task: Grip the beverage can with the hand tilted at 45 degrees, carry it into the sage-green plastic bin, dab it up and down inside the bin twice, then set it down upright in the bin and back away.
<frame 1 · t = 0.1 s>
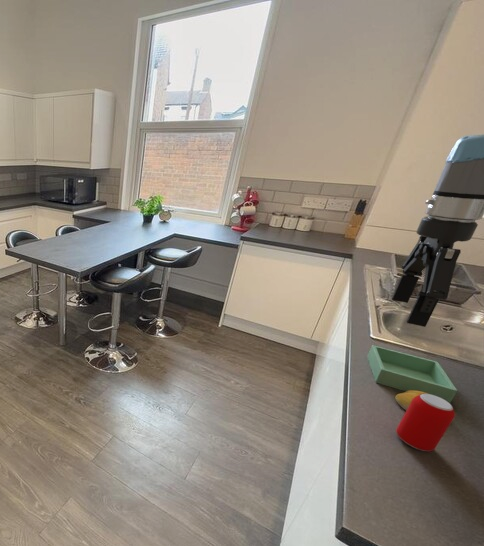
hand: (406, 311, 70), 28 cm above the worktop, tool pointing down, fingers open, 13 cm apart
bread roll: (417, 408, 80), on the worktop
beverage can: (412, 442, 70), on the worktop
bin: (403, 378, 91), on the worktop
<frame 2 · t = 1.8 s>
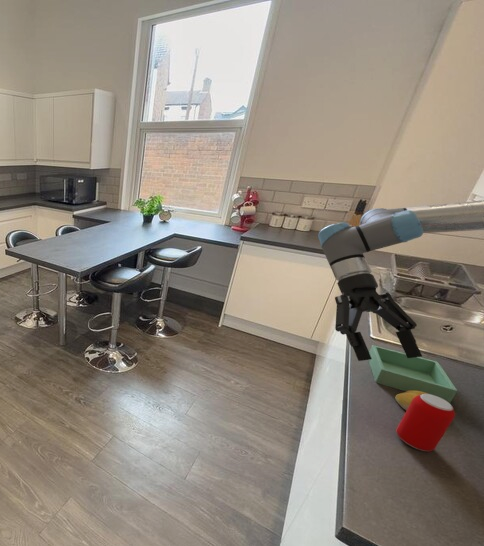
hand: (390, 358, 75), 15 cm above the worktop, tool tilted 45°, fingers open, 13 cm apart
nothing on the worktop moved.
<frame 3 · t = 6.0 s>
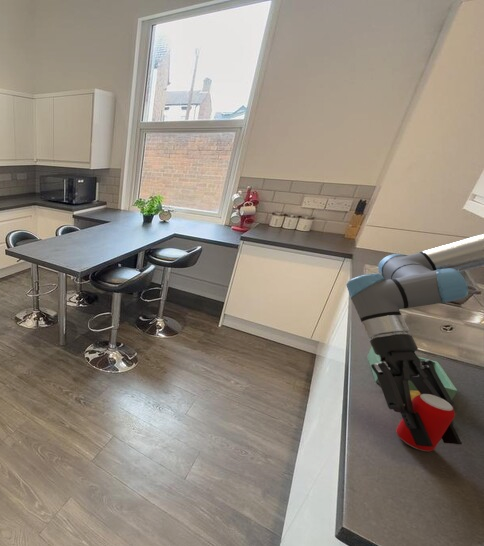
hand: (438, 444, 66), 4 cm above the worktop, tool tilted 45°, fingers closed on beverage can, 6 cm apart
beverage can: (412, 442, 70), on the worktop, touching gripper
everything else where it was.
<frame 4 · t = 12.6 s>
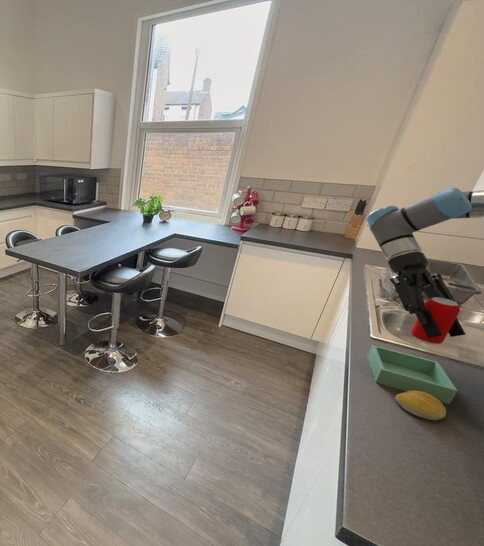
hand: (446, 336, 80), 17 cm above the worktop, tool tilted 45°, fingers closed on beverage can, 6 cm apart
beverage can: (424, 340, 85), point 14 cm above the worktop, touching gripper
everything else where it was.
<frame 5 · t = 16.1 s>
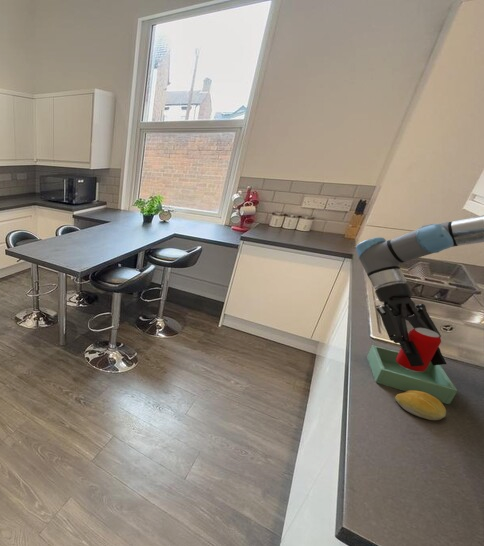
hand: (428, 365, 85), 7 cm above the worktop, tool tilted 45°, fingers closed on beverage can, 6 cm apart
beverage can: (408, 367, 89), point 4 cm above the worktop, touching gripper
everything else where it was.
when the fingers open (4 cm above the worktop, at t = 19.2 s): beverage can stays where it is, resting on bin.
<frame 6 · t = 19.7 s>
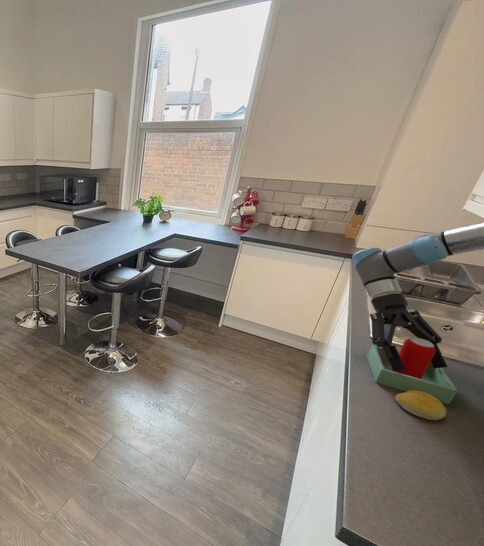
hand: (420, 368, 86), 5 cm above the worktop, tool tilted 45°, fingers open, 12 cm apart
beverage can: (403, 376, 91), resting on bin
everything else where it was.
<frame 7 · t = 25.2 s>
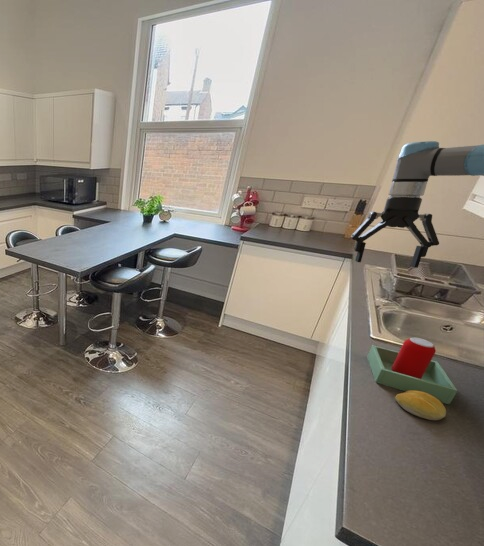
hand: (385, 264, 100), 28 cm above the worktop, tool pointing down, fingers open, 13 cm apart
nothing on the worktop moved.
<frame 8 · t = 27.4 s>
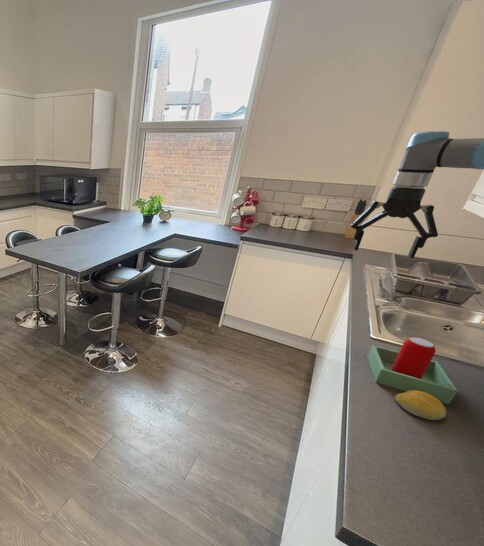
hand: (382, 253, 102), 31 cm above the worktop, tool pointing down, fingers open, 13 cm apart
nothing on the worktop moved.
at the end: beverage can inside the target area in the bin (0.1 cm from its centre), point 0.4 cm above the bin's base; beverage can tilted 0°; the gripper is holding nothing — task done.
